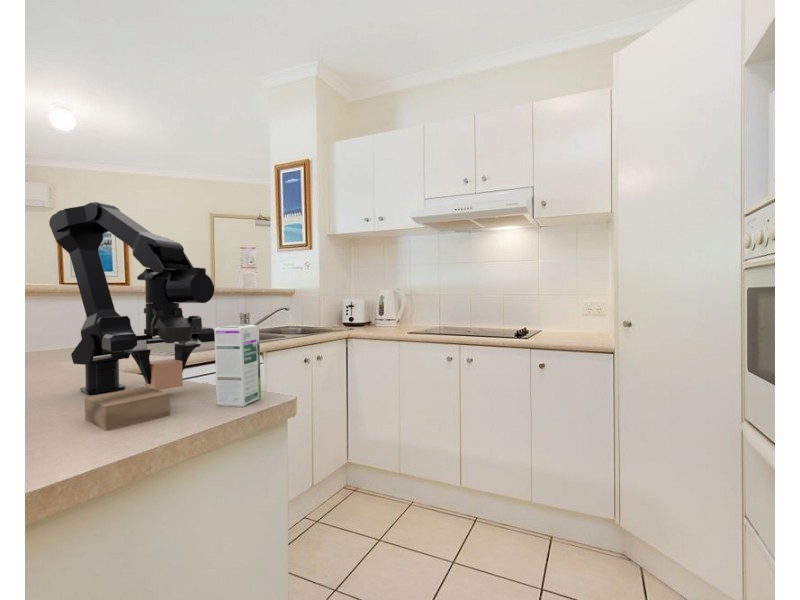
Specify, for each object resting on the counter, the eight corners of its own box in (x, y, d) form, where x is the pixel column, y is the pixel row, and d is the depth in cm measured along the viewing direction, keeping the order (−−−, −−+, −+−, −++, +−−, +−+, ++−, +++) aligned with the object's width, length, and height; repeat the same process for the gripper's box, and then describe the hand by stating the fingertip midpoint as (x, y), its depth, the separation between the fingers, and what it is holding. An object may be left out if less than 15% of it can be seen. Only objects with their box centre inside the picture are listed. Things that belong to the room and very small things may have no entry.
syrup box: (244, 407, 69) (243, 326, 69) (214, 405, 71) (213, 326, 70) (261, 398, 75) (260, 324, 75) (234, 397, 76) (233, 323, 76)
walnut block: (85, 422, 63) (84, 397, 63) (146, 408, 70) (146, 386, 70) (106, 433, 58) (105, 406, 58) (170, 417, 65) (169, 393, 65)
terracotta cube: (145, 387, 77) (144, 361, 77) (172, 382, 81) (172, 358, 81) (154, 390, 74) (154, 364, 74) (182, 385, 78) (182, 361, 78)
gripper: (120, 304, 65) (122, 397, 65) (228, 302, 79) (229, 378, 80) (100, 304, 72) (101, 388, 72) (203, 302, 86) (204, 371, 87)
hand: (163, 381), depth 77 cm, fingers closed on terracotta cube, 5 cm apart
